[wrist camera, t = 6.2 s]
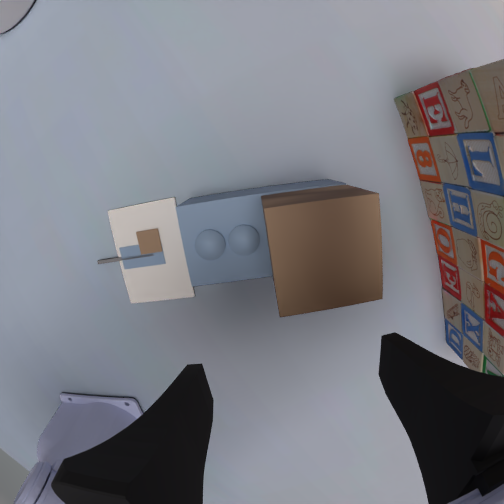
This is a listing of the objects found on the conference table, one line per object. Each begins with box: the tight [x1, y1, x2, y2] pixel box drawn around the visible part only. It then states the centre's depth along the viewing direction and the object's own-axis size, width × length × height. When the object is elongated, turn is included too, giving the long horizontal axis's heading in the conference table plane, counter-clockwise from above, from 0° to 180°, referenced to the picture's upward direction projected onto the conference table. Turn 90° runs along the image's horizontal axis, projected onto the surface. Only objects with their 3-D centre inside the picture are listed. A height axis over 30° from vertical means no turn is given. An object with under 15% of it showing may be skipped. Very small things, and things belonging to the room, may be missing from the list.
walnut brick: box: [261, 185, 383, 317], centre depth 14 cm, size 4×4×4 cm
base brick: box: [176, 179, 346, 287], centre depth 18 cm, size 9×4×4 cm, turn 98°
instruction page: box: [97, 197, 195, 303], centre depth 21 cm, size 7×7×1 cm
